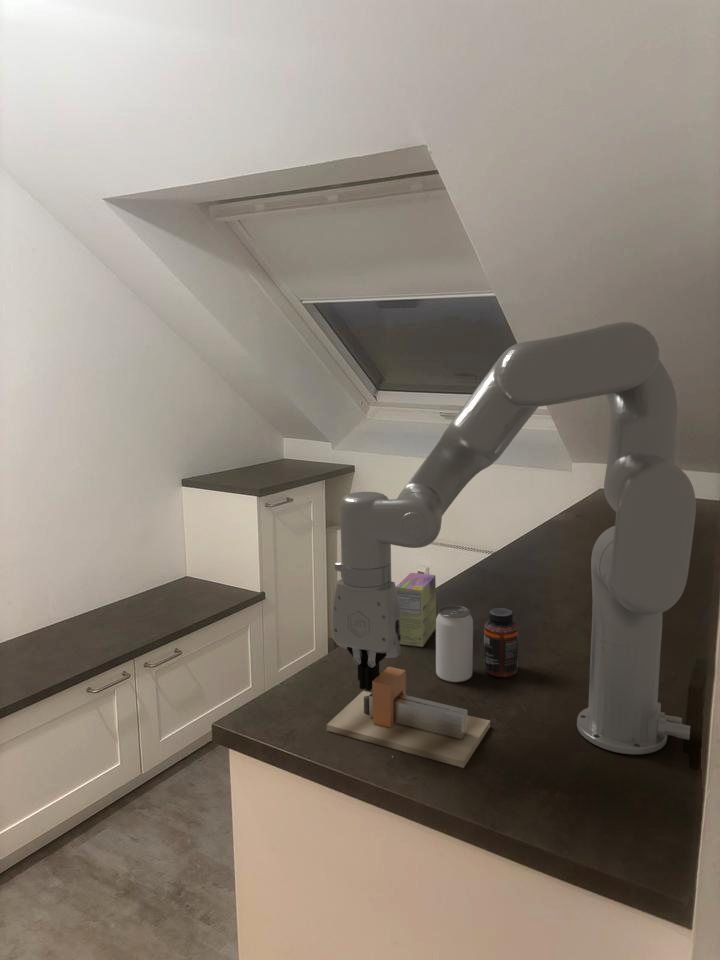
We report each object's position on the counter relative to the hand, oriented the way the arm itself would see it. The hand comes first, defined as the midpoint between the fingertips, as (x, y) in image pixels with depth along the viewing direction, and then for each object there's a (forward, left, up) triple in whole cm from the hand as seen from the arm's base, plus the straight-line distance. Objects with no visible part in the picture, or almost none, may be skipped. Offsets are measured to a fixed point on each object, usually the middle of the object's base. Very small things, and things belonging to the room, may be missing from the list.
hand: (368, 686), depth 107 cm
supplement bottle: (-14, -25, -6) cm, 29 cm away
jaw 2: (-8, -1, -4) cm, 9 cm away
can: (-7, -20, -6) cm, 22 cm away
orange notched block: (-4, 0, -4) cm, 6 cm away
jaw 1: (-8, +1, -4) cm, 9 cm away
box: (+6, -33, -6) cm, 34 cm away
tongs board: (-7, 0, -6) cm, 9 cm away
